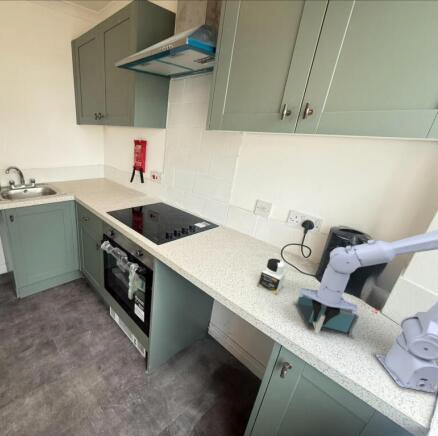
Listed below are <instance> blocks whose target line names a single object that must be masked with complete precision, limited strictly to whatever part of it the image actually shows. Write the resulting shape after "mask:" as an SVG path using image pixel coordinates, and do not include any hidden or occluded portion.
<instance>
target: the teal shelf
mask: <svg viewBox="0 0 438 436" xmlns="http://www.w3.org/2000/svg"><path fill="white" fill-rule="evenodd" d="M321 307H322V309H321V311H320V313H319V315H318V318H317V321H316V322H313V314H314V310H313V312H312V315H311V318H310V320H309V322H310V323H313V325H314V328H315V329H314V331H313V332H314V333H315V334H316V335H319V334H320V331H321V330H320V329H321V327H322V326H325V327H328V328H332V329H335V330H339V331H343V332H346V333H347V331H348V329H349V327H350V325H351V322H352V320H353V318H354V316H355V314H352V313H348V312H344V311H340V314H339V315H337V316H335V317H333V318H331V319H330V320H329V321H328V322H327V323H326V324H325V325H322V324H323V322H324V319H325V317H326V316H325V315H324V313H325V311H326V307H325V306H321Z"/></svg>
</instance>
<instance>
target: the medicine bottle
mask: <svg viewBox="0 0 438 436" xmlns="http://www.w3.org/2000/svg"><path fill="white" fill-rule="evenodd" d="M285 267H286V264H285V262H284V261H283V260H280V259H278V258H269V259H268V260H267V264H266V267H264V269H262V271H261V273H260V277H259V280H258V286H259V287H261V288H263V289H265V290H267V291H269V292H271V293H273V294H277V293H278V292H279V290H280V289H281V288H282V287H283V284H284V281H285V278H286V274H287V272H286V271H284V270H285Z"/></svg>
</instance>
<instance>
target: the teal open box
mask: <svg viewBox="0 0 438 436" xmlns="http://www.w3.org/2000/svg"><path fill="white" fill-rule="evenodd" d="M301 288H302V289H306V290H313V291H318V289H310V288H303V287H301ZM341 299H343V300H345V299H344V297H343V296H342V297H341ZM295 306H296V307H297V310H298V311H299V313H300V316H301V317H302V319H303V321H304V322H305V324H306V326H307V328H308V329H311V330H315V328H314V325H313V323H310V322H309V320H310V318H311V315H312V312H313V305H312V299H310V298H306V297H300V296H299V295H298V299H297V301H296V304H295ZM321 306H325V307H327V305H324V304H322V305H321ZM340 311H344V312H348V313H351V311H348V310H344V309H341V308H340ZM352 314H353V313H352ZM359 317H360V315H358V314H357V313H356V314H355V316H354V318H353V320H352V322H351V325H350V327H349V329H348V331H347V333H346V332H343V331H339V330H335V329H332V328H328V327H325V326H322V327H321V329H320V331H324V332H329V333H336V334H342V335H347V337H351V335H352V333H353V331H354V329H355V326H356V324H357V323H358V320H359Z"/></svg>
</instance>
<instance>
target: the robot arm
mask: <svg viewBox="0 0 438 436" xmlns="http://www.w3.org/2000/svg"><path fill="white" fill-rule="evenodd" d="M435 250H438V229H435V230H432V231H428V232H425V233H421V234H417V235H413V236H410V237H406V238H405V237H404V238H402V239H399V240H395V241H391V242H389V241H384V240H381V239H379V240H375V239H374V238H373V239H369V240H367V242H365V243H361V244H358V245H353V246H351V245H346V247H343V246H339V247H335V248H334V249H333V250H331V251H330V252H329V261H328V264H327V265H326V267H325V270H324V273H323V275H322V278H321V281H320V284H319V285H318V289H317V290H318V291H313V290H314V289H312V290H306V289H307V288H305V289H302V288H303V287H301V288H299V291H298V297H299V296H300V297H306V298H310V299H312V305H313V310H314V314H313V322H316V321H317V318H318V315H319V313H320V311H321V309H322V307H321V305H322V304H324V305H327V307H326V311H325V313H324V315H325V316H326V317H325V319H324V322H323V324H322V325H325V324H326V323H327V322H328V321H329V320H330V319H331V318H333V317H335V316H337V315H339V314H340V308H341V309H344V310H348V311H351V313H353V314H357V313H358V311H359V306H358V304H354V303H352V302H349V301H347V300H345V299H344V298H343V294H344V292H345V290H346V287H347V285H348V282H349V280H350V277H351V274H352V273H354V272H355V271H356V270H357V269H359V268H363V267H369V266H374V265H379V264H385V263H390V262H392V261H393V260H394V259H395V258H396V256H402V255H408V254H409V255H410V254H415V253H421V252H422V253H423V252H428V251H435ZM341 297H342V298H343V299H344V300H343V299H341ZM400 328H401V329H402V332H401V333H400V334H398V335H397V336H396V338H395V340H394V342H393V343H392V345H391V346H390V349H389V351H388V352H387V354H386V355H385V354H379V353H377V354H375V357H376V359H378V361H379V362H380V363H381V365H382V366H383V367H384V368H385V369H386V371H387V373H389V375H390V376H391V378H392V379H393V380H394V381H395V382H396V384H397V385H398V386H399V387H401V388H406V389H412V390H415V391H416V390H417V391H422V392H427V393H432V394H433V393H434V394H435V390H434V388H435V387H436V385H437V383H438V364H437V360H438V301H437V302H436V303H434V304H433V305H432V306H431V307H430V308H429V309H428V310H426V311H417V312H416V313H415V314H414V315H411V316H407V317H405V318H403V319H402V320H401V321H400Z"/></svg>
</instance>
